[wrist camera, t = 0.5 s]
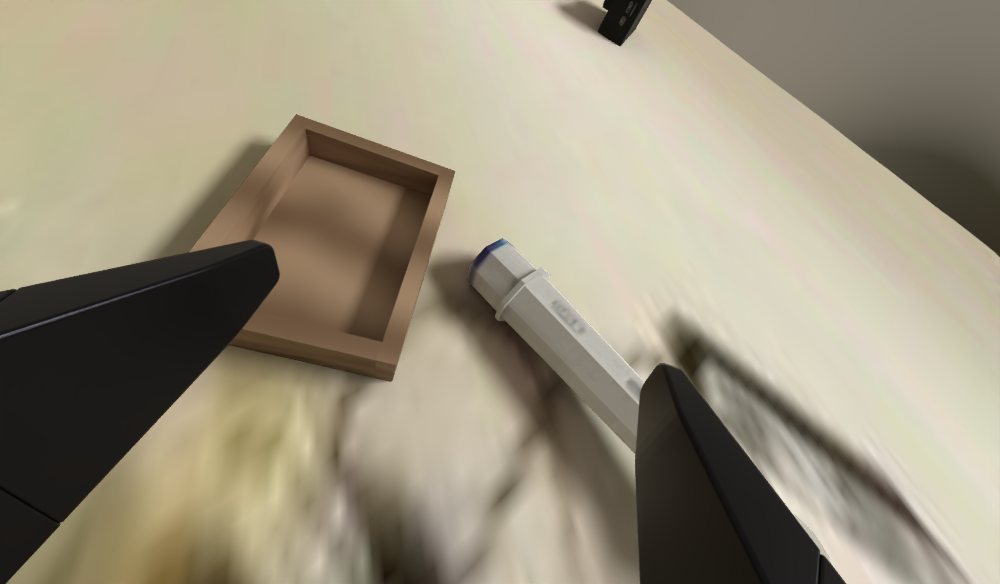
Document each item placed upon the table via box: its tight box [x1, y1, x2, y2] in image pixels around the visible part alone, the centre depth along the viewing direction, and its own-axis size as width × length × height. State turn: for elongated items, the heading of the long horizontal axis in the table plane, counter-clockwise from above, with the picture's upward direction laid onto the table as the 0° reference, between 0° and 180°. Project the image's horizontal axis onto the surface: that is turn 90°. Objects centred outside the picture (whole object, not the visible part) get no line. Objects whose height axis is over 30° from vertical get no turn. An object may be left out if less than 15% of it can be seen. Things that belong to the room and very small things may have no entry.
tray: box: [188, 114, 455, 381], centre depth 22 cm, size 15×11×3 cm
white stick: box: [466, 238, 830, 562], centre depth 22 cm, size 5×7×25 cm
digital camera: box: [598, 0, 652, 46], centre depth 55 cm, size 10×5×7 cm, turn 152°
